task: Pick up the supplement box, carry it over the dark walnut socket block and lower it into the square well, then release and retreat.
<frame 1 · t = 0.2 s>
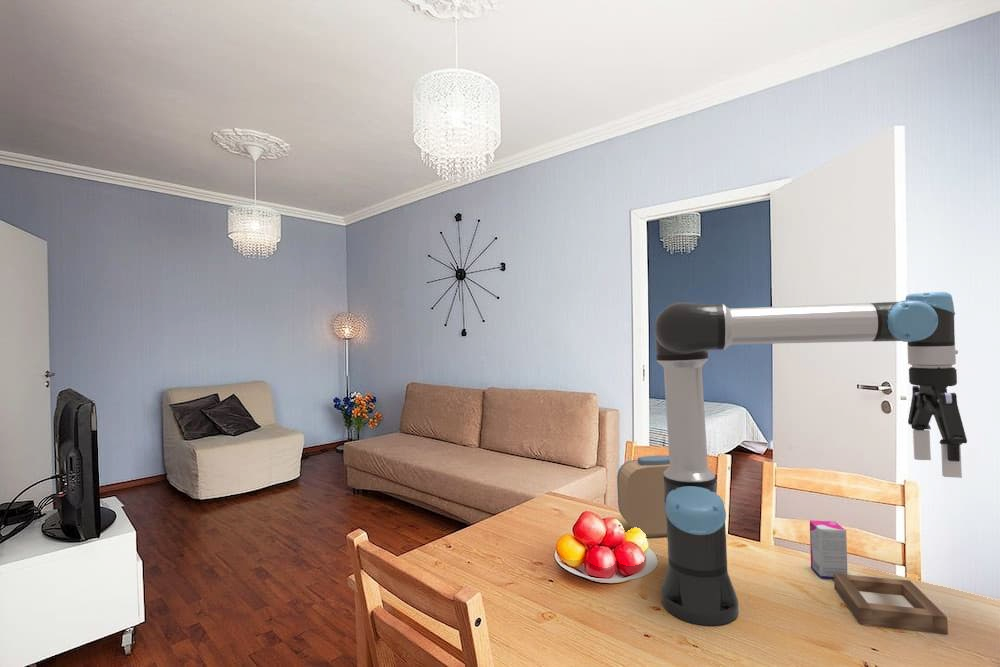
hand: (936, 467, 103), 27 cm above the table, fingers open, 13 cm apart
supplement box: (829, 574, 115), on the table
socket block: (886, 609, 100), on the table
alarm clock: (658, 531, 143), on the table
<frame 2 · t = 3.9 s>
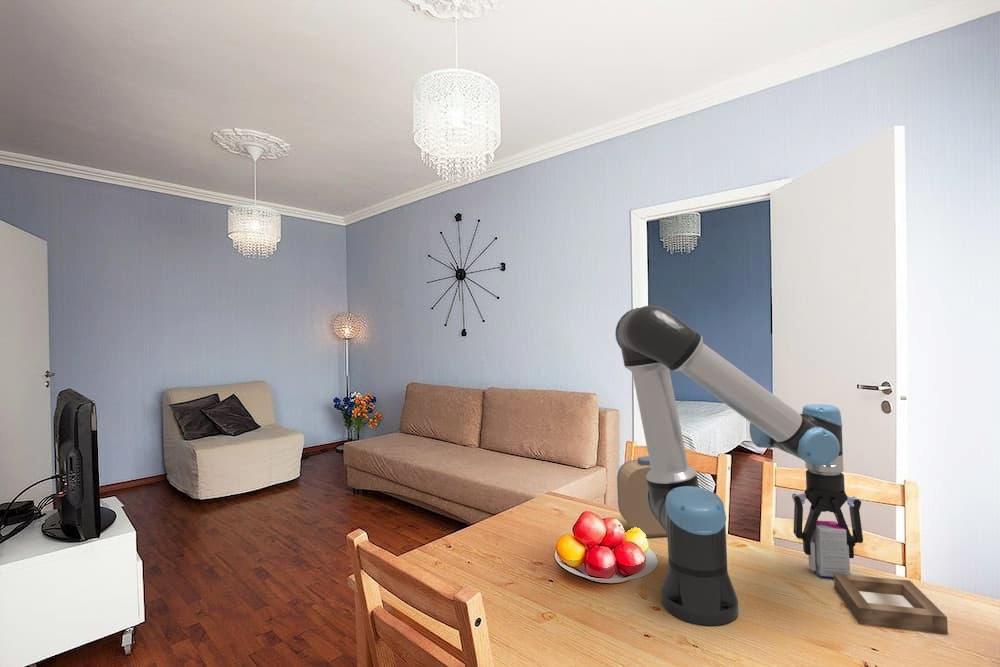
hand: (828, 569, 115), 1 cm above the table, fingers closed on supplement box, 6 cm apart
supplement box: (829, 574, 115), on the table, touching gripper
everything else where it was.
when the fingers open (4 cm above the table, at t = 7.9 s): supplement box drops 2 cm, resting on socket block.
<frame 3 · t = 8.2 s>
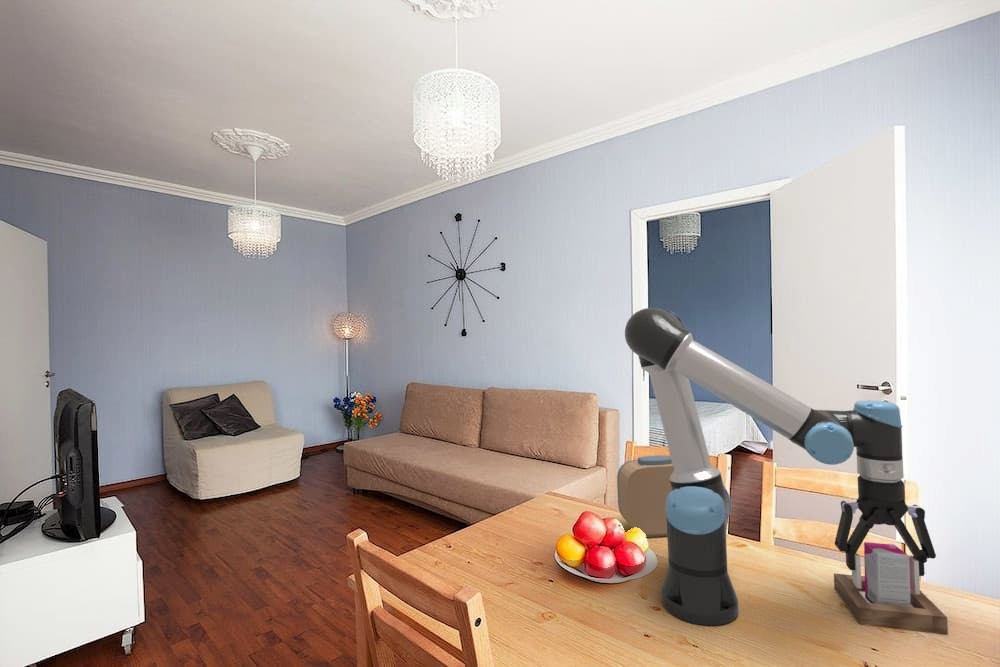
hand: (885, 587, 100), 4 cm above the table, fingers open, 9 cm apart
supplement box: (887, 605, 100), point 1 cm above the table, touching socket block
everything else where it was.
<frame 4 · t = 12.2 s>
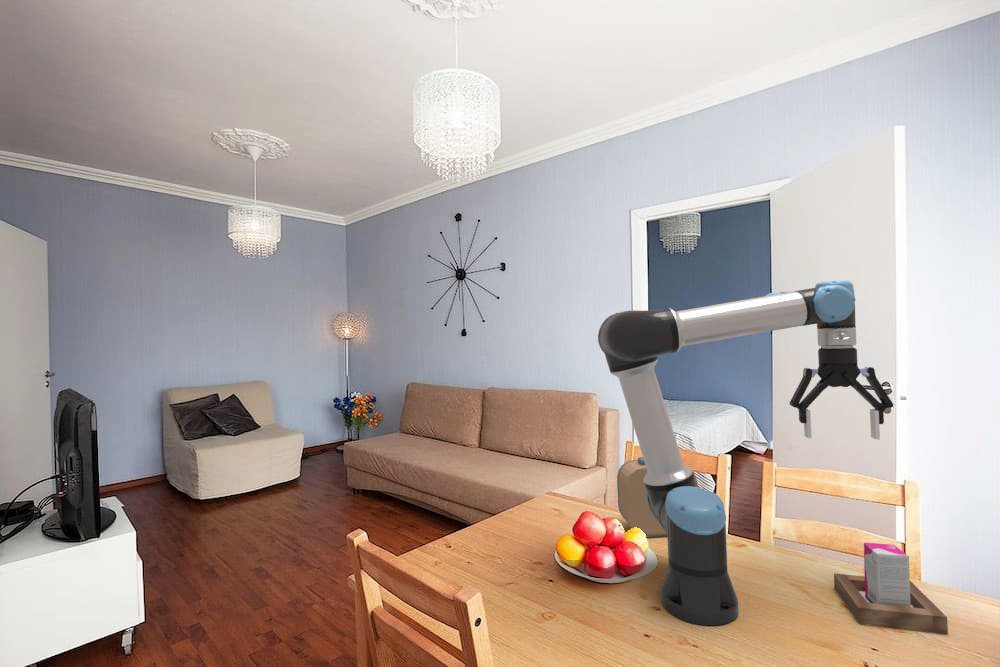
hand: (841, 437, 115), 32 cm above the table, fingers open, 13 cm apart
nothing on the table moved.
at the end: supplement box 0.3 cm off-centre on the socket block, point 0.7 cm above the socket block's base; supplement box tilted 0°; the gripper is holding nothing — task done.
